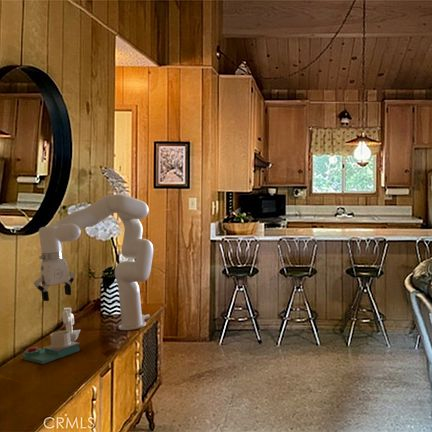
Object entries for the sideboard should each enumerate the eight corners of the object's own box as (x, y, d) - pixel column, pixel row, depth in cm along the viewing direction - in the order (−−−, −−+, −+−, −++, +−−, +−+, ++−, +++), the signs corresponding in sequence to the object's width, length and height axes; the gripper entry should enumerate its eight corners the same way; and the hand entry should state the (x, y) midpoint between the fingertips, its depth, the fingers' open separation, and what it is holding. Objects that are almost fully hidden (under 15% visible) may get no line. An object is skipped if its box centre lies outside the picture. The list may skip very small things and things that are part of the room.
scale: (59, 346, 211) (58, 339, 211) (79, 350, 203) (78, 343, 203) (22, 359, 198) (21, 351, 198) (42, 364, 190) (41, 356, 190)
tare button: (34, 349, 201) (34, 345, 201) (39, 350, 199) (38, 346, 199) (26, 352, 198) (26, 348, 198) (31, 353, 196) (30, 349, 196)
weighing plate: (66, 348, 208) (65, 339, 208) (80, 351, 203) (79, 342, 203) (43, 355, 200) (42, 347, 200) (57, 359, 195) (56, 350, 194)
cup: (64, 341, 206) (62, 329, 206) (74, 343, 202) (73, 331, 202) (47, 346, 200) (46, 334, 200) (57, 349, 196) (56, 336, 196)
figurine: (81, 336, 224) (78, 304, 223) (76, 343, 214) (72, 309, 213) (65, 338, 222) (61, 306, 221) (58, 345, 213) (55, 311, 212)
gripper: (36, 260, 190) (42, 304, 191) (77, 253, 204) (81, 293, 206) (26, 260, 194) (31, 302, 195) (66, 252, 208) (71, 292, 210)
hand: (57, 297), depth 200 cm, fingers open, 9 cm apart
